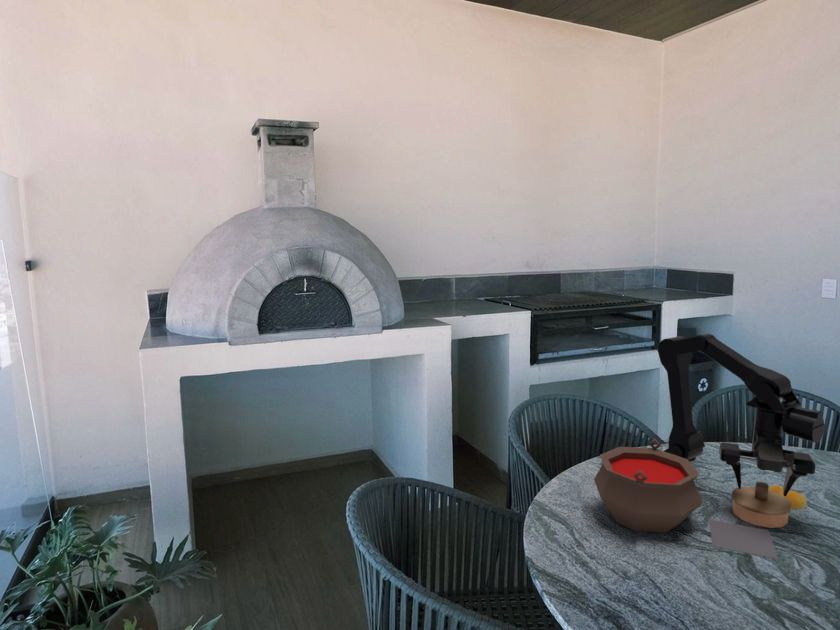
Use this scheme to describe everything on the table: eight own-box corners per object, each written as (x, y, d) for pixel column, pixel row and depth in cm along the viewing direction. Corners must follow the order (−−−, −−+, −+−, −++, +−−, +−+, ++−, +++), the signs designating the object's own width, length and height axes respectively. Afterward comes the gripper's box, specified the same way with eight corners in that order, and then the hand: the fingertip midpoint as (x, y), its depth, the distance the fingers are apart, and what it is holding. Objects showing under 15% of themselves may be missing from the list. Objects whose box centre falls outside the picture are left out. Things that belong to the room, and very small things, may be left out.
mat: (712, 549, 124) (712, 545, 123) (708, 522, 134) (709, 519, 134) (777, 562, 119) (777, 558, 119) (768, 533, 130) (768, 530, 130)
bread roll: (800, 516, 138) (802, 500, 137) (759, 502, 144) (760, 487, 144) (811, 505, 143) (812, 490, 142) (770, 492, 150) (772, 477, 149)
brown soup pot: (603, 487, 152) (606, 427, 150) (704, 509, 141) (709, 445, 138) (579, 528, 132) (583, 461, 129) (695, 559, 120) (701, 485, 117)
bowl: (735, 524, 134) (736, 508, 133) (730, 503, 144) (732, 488, 143) (790, 534, 129) (792, 518, 129) (782, 511, 139) (783, 496, 139)
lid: (734, 508, 133) (735, 490, 132) (729, 486, 144) (731, 469, 143) (795, 519, 128) (797, 500, 127) (785, 496, 139) (787, 478, 138)
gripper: (725, 434, 129) (719, 499, 132) (825, 447, 122) (816, 516, 124) (721, 418, 139) (716, 479, 142) (813, 429, 132) (805, 493, 135)
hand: (761, 491), depth 135 cm, fingers open, 9 cm apart
